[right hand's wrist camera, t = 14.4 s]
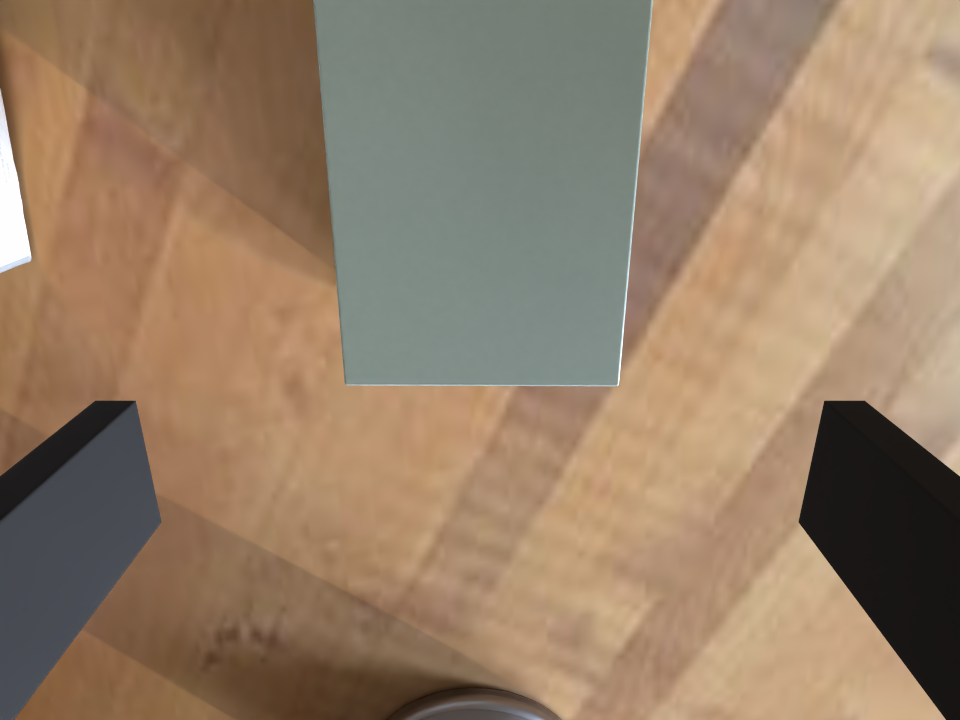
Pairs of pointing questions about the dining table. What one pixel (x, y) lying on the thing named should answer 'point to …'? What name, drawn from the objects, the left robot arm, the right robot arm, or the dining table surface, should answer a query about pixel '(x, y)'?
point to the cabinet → (482, 185)
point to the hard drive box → (10, 206)
